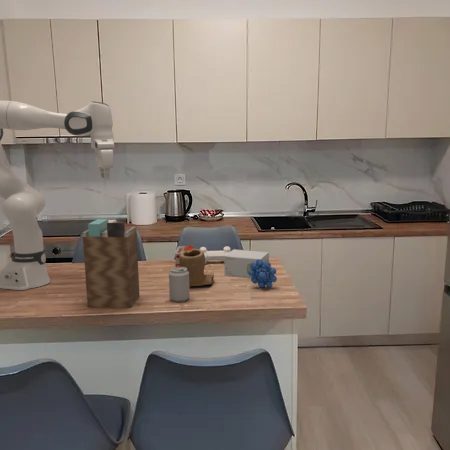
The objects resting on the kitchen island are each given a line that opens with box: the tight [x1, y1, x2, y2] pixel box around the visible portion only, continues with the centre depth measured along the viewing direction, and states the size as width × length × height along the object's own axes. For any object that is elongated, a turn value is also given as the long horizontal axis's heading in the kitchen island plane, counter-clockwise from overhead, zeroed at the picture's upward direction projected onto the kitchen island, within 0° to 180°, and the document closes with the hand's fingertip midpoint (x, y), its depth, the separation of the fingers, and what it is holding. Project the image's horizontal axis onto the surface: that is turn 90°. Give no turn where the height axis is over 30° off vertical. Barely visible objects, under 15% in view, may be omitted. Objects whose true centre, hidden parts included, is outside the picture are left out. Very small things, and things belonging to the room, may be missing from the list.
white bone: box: [199, 245, 232, 265], centre depth 227 cm, size 15×9×8 cm, turn 93°
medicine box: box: [174, 245, 195, 267], centre depth 224 cm, size 15×8×8 cm, turn 0°
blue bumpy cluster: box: [248, 259, 278, 289], centre depth 187 cm, size 12×7×12 cm, turn 85°
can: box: [168, 266, 191, 303], centre depth 176 cm, size 8×8×12 cm
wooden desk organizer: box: [82, 222, 140, 309], centre depth 173 cm, size 16×12×31 cm
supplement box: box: [224, 248, 270, 279], centre depth 209 cm, size 17×13×9 cm
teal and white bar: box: [87, 218, 118, 237], centre depth 175 cm, size 4×20×4 cm, turn 175°
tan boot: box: [179, 248, 215, 287], centre depth 192 cm, size 15×12×15 cm
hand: (105, 178), depth 189 cm, fingers open, 8 cm apart
